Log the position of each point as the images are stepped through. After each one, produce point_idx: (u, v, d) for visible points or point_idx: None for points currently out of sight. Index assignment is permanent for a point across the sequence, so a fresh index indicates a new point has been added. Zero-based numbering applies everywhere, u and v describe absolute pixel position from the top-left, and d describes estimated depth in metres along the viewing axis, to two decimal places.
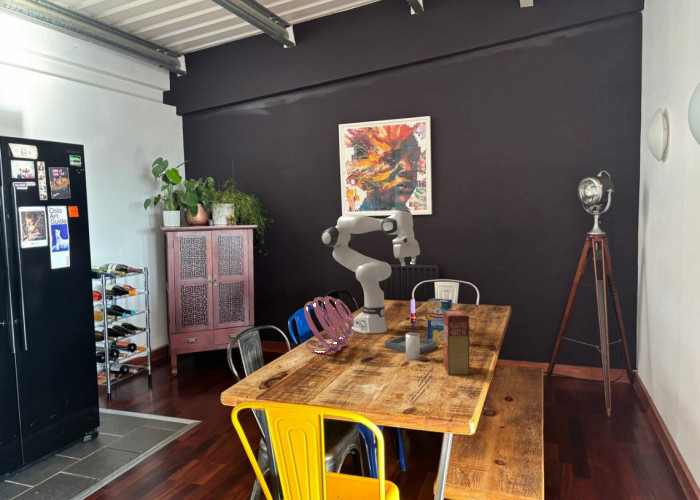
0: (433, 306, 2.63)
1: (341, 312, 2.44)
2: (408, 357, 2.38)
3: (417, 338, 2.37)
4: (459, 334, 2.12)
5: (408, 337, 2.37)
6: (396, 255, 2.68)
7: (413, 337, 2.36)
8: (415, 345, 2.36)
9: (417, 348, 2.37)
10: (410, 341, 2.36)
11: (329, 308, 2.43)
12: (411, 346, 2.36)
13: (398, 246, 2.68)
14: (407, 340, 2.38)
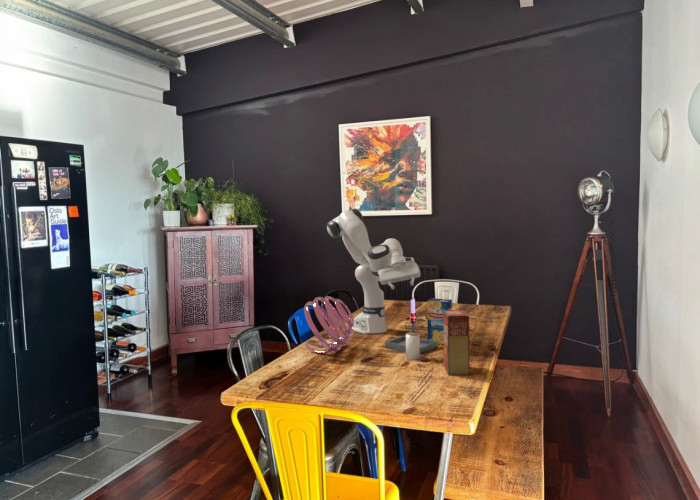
0: (433, 306, 2.63)
1: (341, 312, 2.44)
2: (408, 357, 2.38)
3: (417, 338, 2.37)
4: (459, 334, 2.12)
5: (408, 337, 2.37)
6: None
7: (413, 337, 2.36)
8: (415, 345, 2.36)
9: (417, 348, 2.37)
10: (410, 341, 2.36)
11: (329, 308, 2.43)
12: (411, 346, 2.36)
13: None
14: (407, 340, 2.38)
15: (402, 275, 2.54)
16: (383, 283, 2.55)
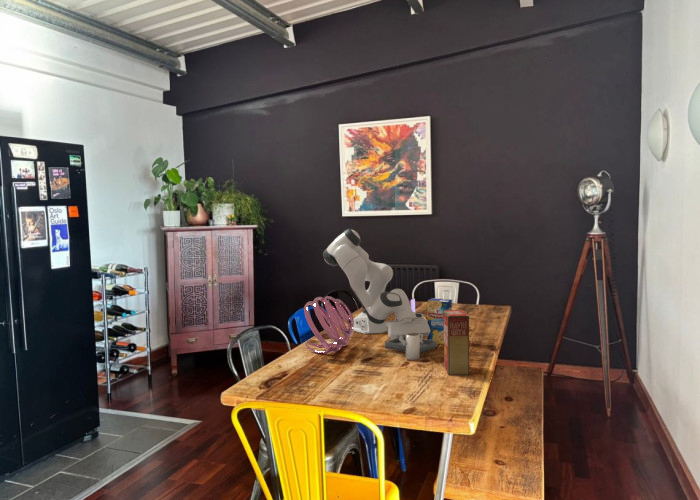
0: (433, 306, 2.63)
1: (341, 312, 2.44)
2: (408, 357, 2.38)
3: (417, 338, 2.37)
4: (459, 334, 2.12)
5: (408, 337, 2.37)
6: None
7: (413, 337, 2.36)
8: (415, 345, 2.36)
9: (417, 348, 2.37)
10: (410, 341, 2.36)
11: (329, 308, 2.43)
12: (411, 346, 2.36)
13: None
14: (407, 340, 2.38)
15: (413, 332, 2.41)
16: (392, 337, 2.39)
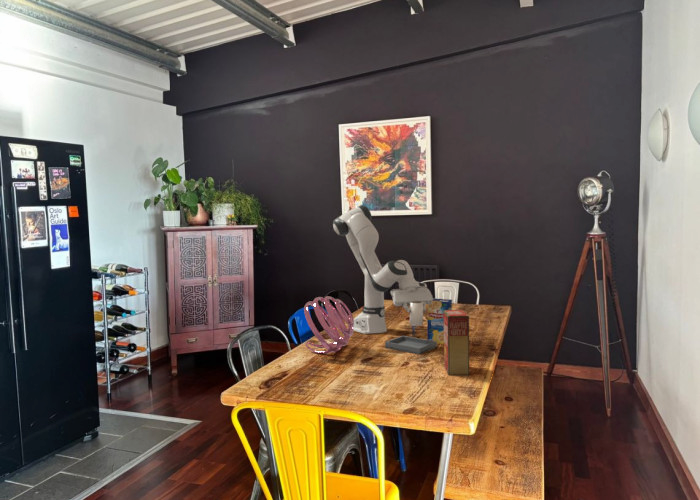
0: (433, 306, 2.63)
1: (341, 312, 2.44)
2: (412, 324, 2.50)
3: (421, 305, 2.49)
4: (459, 334, 2.12)
5: (412, 304, 2.49)
6: None
7: (417, 304, 2.48)
8: (418, 312, 2.48)
9: (421, 315, 2.49)
10: (414, 308, 2.49)
11: (329, 308, 2.43)
12: (415, 313, 2.49)
13: None
14: (411, 307, 2.50)
15: (416, 299, 2.53)
16: (397, 304, 2.51)
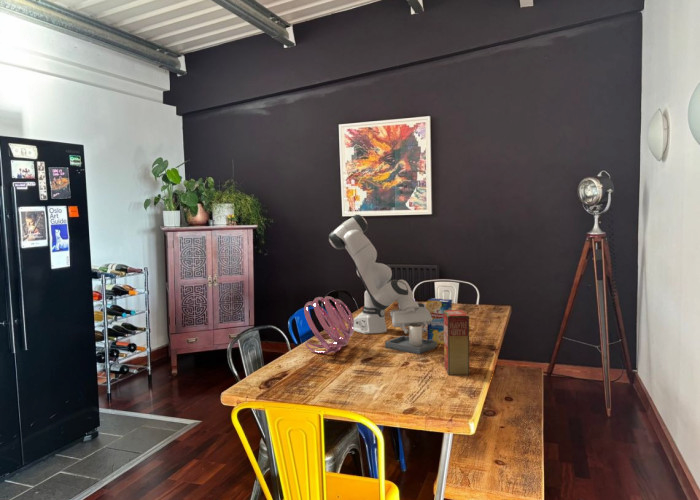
0: (433, 306, 2.63)
1: (341, 312, 2.44)
2: None
3: (420, 329, 2.50)
4: (459, 334, 2.12)
5: (411, 328, 2.50)
6: None
7: (416, 328, 2.49)
8: (417, 336, 2.49)
9: (420, 339, 2.50)
10: (413, 332, 2.49)
11: (329, 308, 2.43)
12: (414, 337, 2.49)
13: None
14: (410, 331, 2.50)
15: (416, 320, 2.54)
16: (396, 325, 2.52)
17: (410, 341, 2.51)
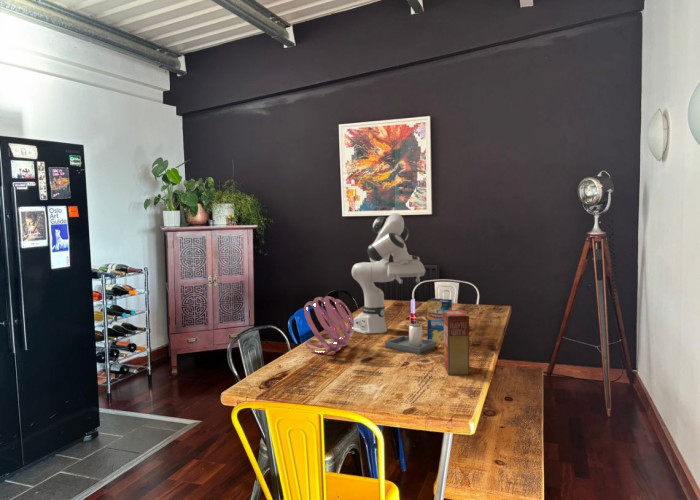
0: (433, 306, 2.63)
1: (341, 312, 2.44)
2: None
3: (420, 329, 2.50)
4: (459, 334, 2.12)
5: (411, 328, 2.50)
6: None
7: (416, 328, 2.49)
8: (417, 336, 2.49)
9: (420, 339, 2.50)
10: (413, 332, 2.49)
11: (329, 308, 2.43)
12: (414, 337, 2.49)
13: None
14: (410, 331, 2.50)
15: (409, 271, 2.66)
16: (390, 276, 2.64)
17: (410, 341, 2.51)
